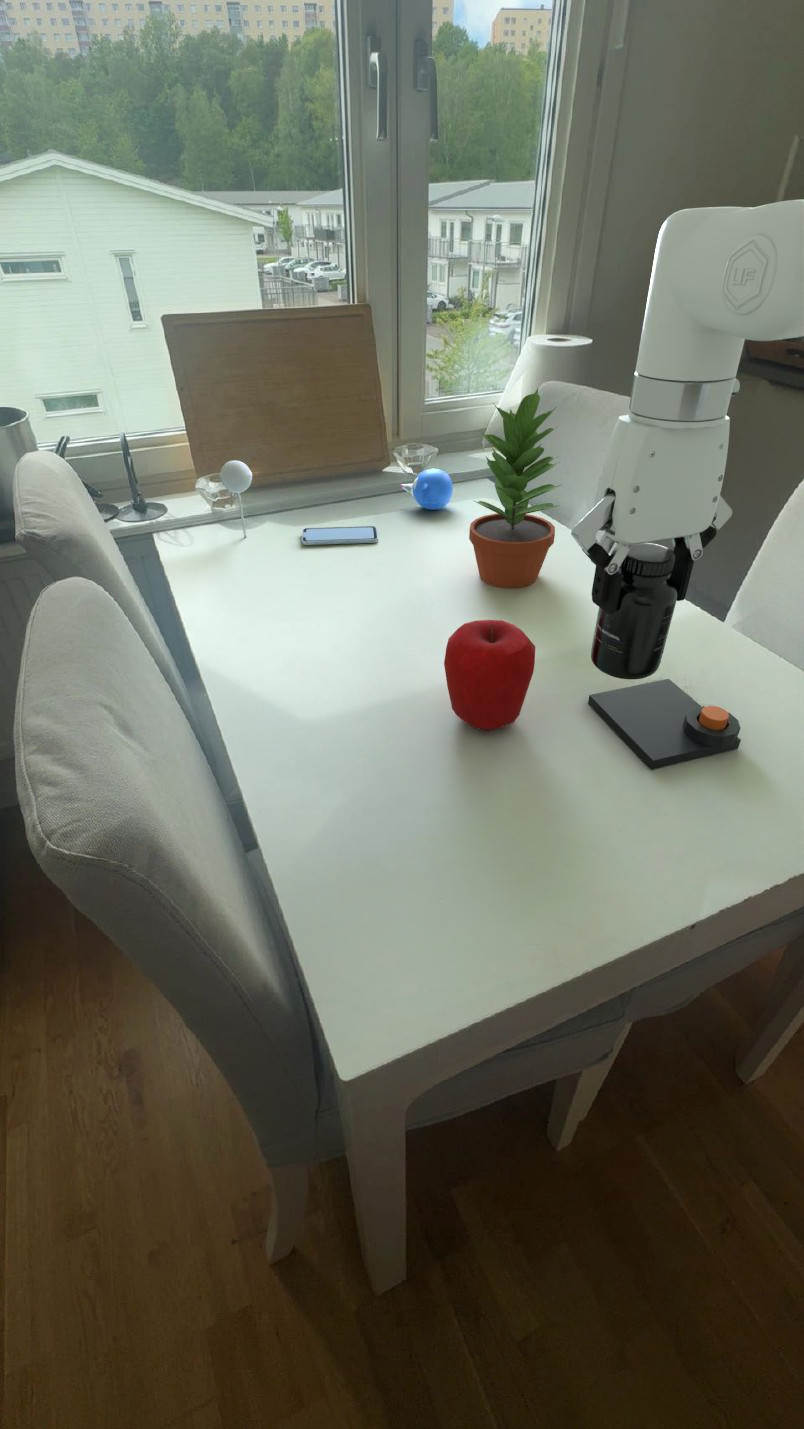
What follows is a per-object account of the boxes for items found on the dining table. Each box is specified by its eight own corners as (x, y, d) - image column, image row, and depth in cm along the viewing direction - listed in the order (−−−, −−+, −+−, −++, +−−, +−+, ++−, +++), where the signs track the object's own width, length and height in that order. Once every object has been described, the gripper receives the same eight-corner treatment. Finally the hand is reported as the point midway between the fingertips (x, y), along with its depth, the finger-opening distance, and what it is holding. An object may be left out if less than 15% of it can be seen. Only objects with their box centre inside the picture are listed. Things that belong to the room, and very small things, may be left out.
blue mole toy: (408, 496, 156) (407, 459, 151) (458, 501, 153) (459, 463, 148) (391, 514, 147) (390, 474, 142) (444, 519, 144) (444, 479, 139)
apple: (428, 726, 85) (429, 631, 77) (468, 688, 92) (473, 597, 84) (504, 755, 80) (514, 657, 72) (540, 713, 87) (553, 618, 79)
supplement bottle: (582, 672, 68) (600, 558, 61) (598, 641, 73) (617, 533, 66) (652, 688, 65) (680, 572, 58) (665, 655, 70) (692, 544, 63)
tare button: (731, 728, 79) (735, 717, 79) (709, 733, 79) (713, 722, 78) (714, 714, 82) (717, 703, 81) (693, 718, 81) (696, 708, 80)
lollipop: (224, 541, 136) (211, 464, 127) (238, 530, 140) (226, 455, 131) (252, 544, 134) (240, 466, 125) (265, 533, 139) (255, 457, 130)
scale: (743, 750, 80) (751, 730, 78) (653, 772, 77) (658, 752, 75) (669, 686, 91) (674, 667, 90) (587, 703, 88) (590, 684, 87)
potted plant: (457, 589, 116) (464, 400, 99) (478, 555, 128) (487, 381, 110) (544, 600, 112) (567, 406, 95) (557, 565, 124) (580, 385, 106)
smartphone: (378, 539, 133) (301, 541, 132) (378, 543, 134) (301, 546, 133) (376, 525, 139) (302, 528, 138) (376, 529, 140) (303, 531, 139)
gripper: (735, 383, 59) (688, 572, 70) (559, 399, 55) (537, 599, 66) (802, 399, 54) (739, 603, 64) (611, 418, 49) (577, 634, 60)
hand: (637, 599), depth 65 cm, fingers closed on supplement bottle, 6 cm apart
